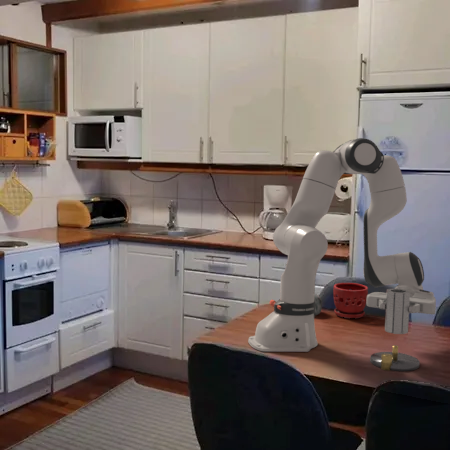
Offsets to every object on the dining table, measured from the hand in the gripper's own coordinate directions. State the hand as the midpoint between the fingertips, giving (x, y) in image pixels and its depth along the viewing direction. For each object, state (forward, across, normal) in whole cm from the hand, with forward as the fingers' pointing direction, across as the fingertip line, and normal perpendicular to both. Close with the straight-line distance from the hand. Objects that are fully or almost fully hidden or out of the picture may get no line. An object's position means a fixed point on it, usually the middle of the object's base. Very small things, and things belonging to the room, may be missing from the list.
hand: (396, 308), depth 174 cm
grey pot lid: (-1, 0, +17) cm, 17 cm away
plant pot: (-50, -26, +17) cm, 59 cm away
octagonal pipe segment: (-1, 0, +7) cm, 7 cm away
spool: (-47, -41, +17) cm, 65 cm away
